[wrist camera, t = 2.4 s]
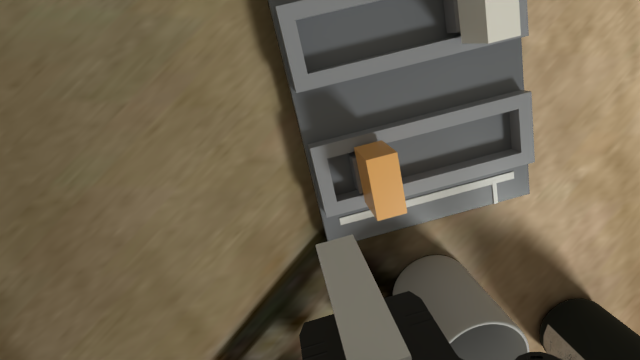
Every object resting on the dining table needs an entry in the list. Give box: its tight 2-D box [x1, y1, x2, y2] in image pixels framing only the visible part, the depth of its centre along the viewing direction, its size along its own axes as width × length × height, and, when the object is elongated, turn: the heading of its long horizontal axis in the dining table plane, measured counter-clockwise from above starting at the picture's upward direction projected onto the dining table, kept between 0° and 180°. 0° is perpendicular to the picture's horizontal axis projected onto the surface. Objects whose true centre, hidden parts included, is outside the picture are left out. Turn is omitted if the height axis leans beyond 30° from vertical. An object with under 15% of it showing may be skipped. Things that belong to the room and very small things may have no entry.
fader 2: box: [443, 0, 521, 44], centre depth 30 cm, size 3×5×6 cm, turn 13°
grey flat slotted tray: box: [268, 0, 535, 242], centre depth 35 cm, size 20×26×4 cm
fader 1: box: [348, 140, 407, 221], centre depth 34 cm, size 3×5×6 cm, turn 13°
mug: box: [393, 255, 529, 360], centre depth 39 cm, size 12×8×11 cm
